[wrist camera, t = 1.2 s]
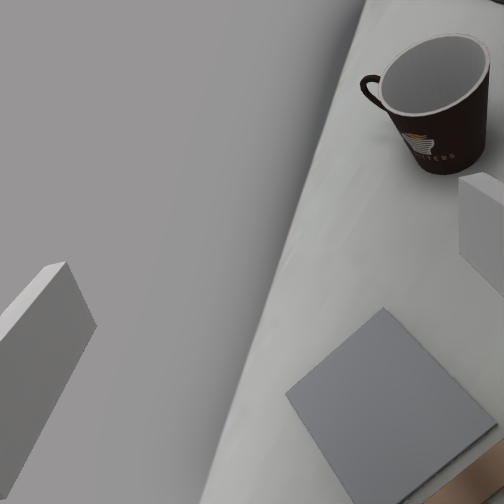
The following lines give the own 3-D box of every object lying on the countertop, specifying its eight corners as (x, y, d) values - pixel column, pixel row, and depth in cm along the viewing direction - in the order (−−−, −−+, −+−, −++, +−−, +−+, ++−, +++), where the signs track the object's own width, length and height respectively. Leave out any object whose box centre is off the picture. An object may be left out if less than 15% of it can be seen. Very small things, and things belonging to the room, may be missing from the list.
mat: (386, 310, 39) (383, 307, 38) (497, 424, 31) (496, 422, 30) (289, 395, 40) (284, 393, 39) (372, 525, 32) (368, 526, 32)
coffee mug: (520, 144, 39) (516, 61, 32) (437, 200, 41) (415, 134, 33) (441, 86, 46) (423, 7, 39) (374, 136, 48) (344, 70, 41)
